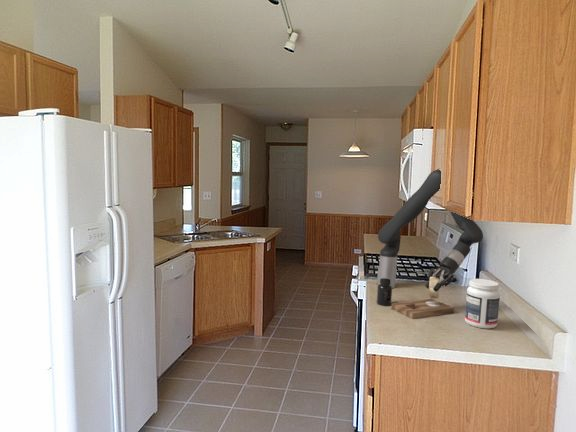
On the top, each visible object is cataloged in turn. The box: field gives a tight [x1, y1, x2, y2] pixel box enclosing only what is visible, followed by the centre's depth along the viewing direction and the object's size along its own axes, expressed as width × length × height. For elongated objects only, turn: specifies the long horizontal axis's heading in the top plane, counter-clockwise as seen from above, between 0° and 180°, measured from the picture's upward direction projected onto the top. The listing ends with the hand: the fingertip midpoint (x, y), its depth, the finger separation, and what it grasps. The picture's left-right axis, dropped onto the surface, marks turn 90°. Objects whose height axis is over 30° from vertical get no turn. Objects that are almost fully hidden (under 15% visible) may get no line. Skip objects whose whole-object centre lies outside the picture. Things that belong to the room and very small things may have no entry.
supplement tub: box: [464, 278, 501, 329], centre depth 182 cm, size 13×13×18 cm
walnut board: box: [391, 298, 455, 320], centre depth 197 cm, size 14×24×3 cm, turn 115°
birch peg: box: [427, 276, 440, 299], centre depth 199 cm, size 4×4×9 cm
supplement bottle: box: [376, 278, 393, 307], centre depth 205 cm, size 7×7×12 cm
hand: (430, 288), depth 198 cm, fingers closed on birch peg, 4 cm apart
